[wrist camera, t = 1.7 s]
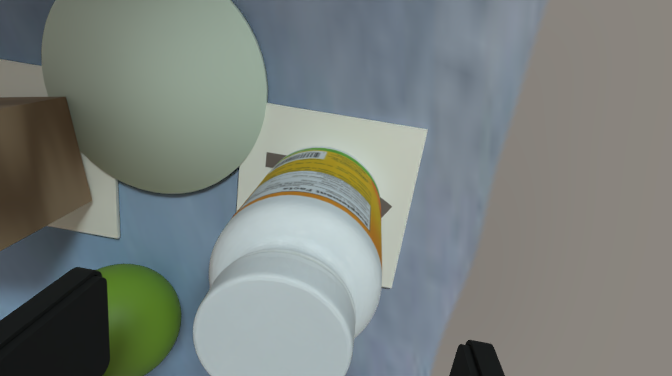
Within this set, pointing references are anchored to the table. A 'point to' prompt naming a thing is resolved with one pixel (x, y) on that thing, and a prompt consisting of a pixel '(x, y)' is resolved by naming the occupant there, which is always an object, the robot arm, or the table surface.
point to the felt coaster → (158, 87)
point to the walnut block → (37, 166)
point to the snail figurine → (139, 318)
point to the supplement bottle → (294, 271)
